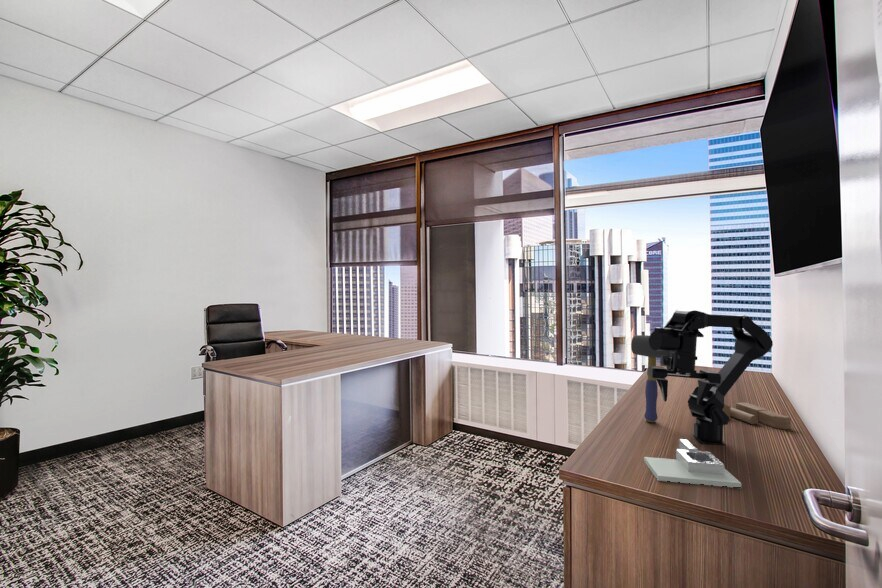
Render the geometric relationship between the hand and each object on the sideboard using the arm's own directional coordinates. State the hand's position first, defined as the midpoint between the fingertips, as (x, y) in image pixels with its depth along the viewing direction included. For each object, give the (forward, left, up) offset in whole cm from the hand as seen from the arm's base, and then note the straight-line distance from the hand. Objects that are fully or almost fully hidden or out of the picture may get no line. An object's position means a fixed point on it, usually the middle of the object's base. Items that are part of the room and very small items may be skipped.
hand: (681, 402), depth 122 cm
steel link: (+3, +17, -11) cm, 20 cm away
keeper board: (+6, +22, -12) cm, 26 cm away
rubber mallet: (+3, -18, -12) cm, 22 cm away
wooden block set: (-30, -26, -13) cm, 41 cm away
